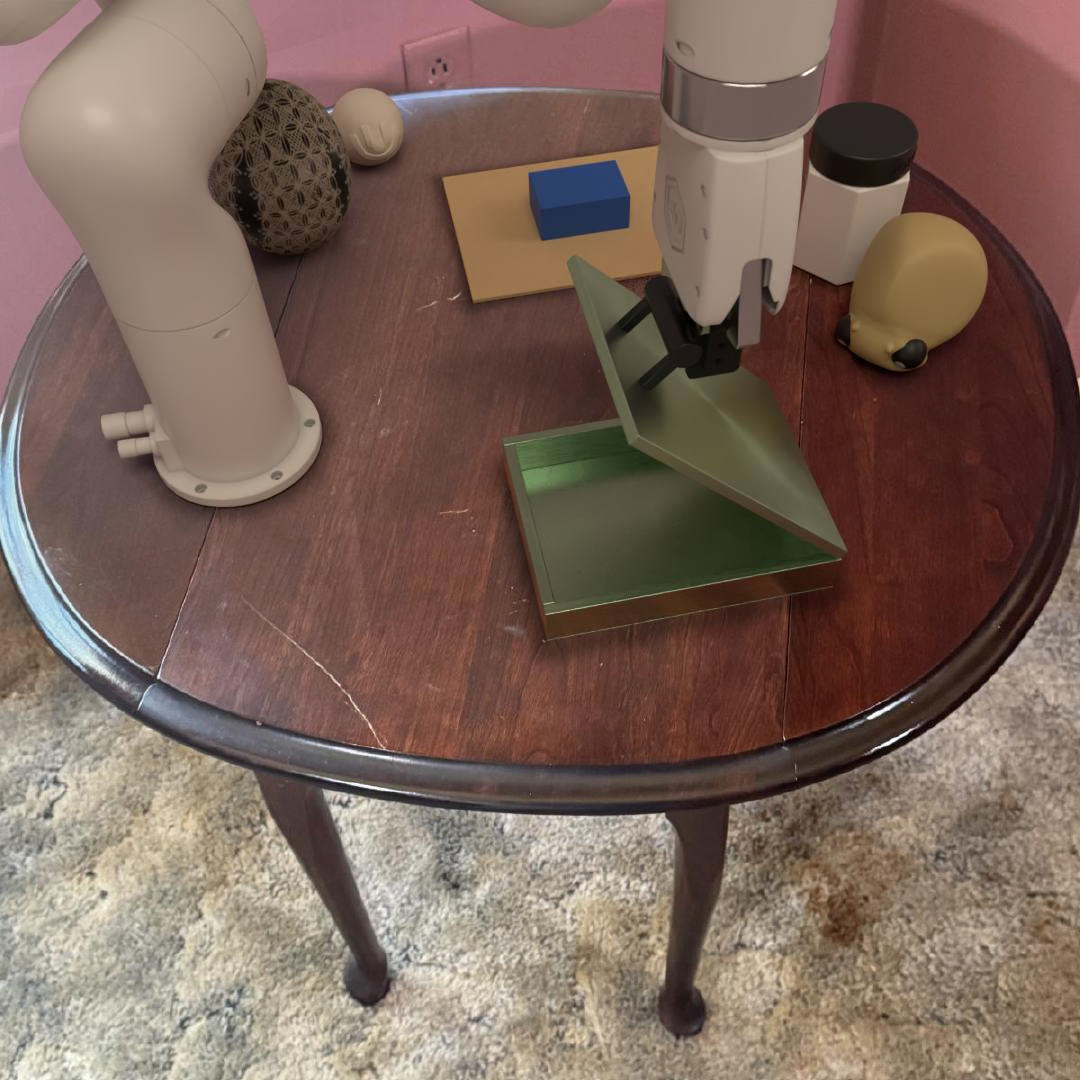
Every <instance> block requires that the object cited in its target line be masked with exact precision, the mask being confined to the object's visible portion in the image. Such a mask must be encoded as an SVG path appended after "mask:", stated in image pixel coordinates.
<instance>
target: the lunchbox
mask: <svg viewBox="0 0 1080 1080" xmlns="http://www.w3.org/2000/svg"><path fill="white" fill-rule="evenodd" d="M501 447H502V458H503V467H504V471H505V475H506V480H507V483H508V488H509V491H510V496H511V500H512V503H513V504H512V505H513V508H514V512H515V516H516V520H517V524H518V529H519V532H520V536H521V541H522V545H523V549H524V554H525V557H526V561H527V565H528V569H529V573H530V577H531V581H532V585H533V586H532V587H533V590H534V594H535V599H536V602H537V603H536V604H537V606H538V610H539V614H540V617H541V622H542V626H543V631H544V636H545V639H546V641H547V642H549V641H555V640H560V639H566V638H569V637H575V636H580V635H585V634H590V633H596V632H597V633H598V632H602V631H607V630H612V629H617V628H622V627H623V628H624V627H628V626H632V625H633V626H634V625H640V624H644V623H650V622H655V621H660V620H665V619H666V620H667V619H670V618H675V617H681V616H687V615H692V614H697V613H702V612H707V611H713V610H718V609H723V608H730V607H734V606H740V605H744V604H750V603H755V602H760V601H765V600H772V599H776V598H781V597H788V596H792V595H797V594H803V593H807V592H808V593H809V592H813V591H814V592H815V591H819V590H825V589H830V588H833V587H835V583H836V580H837V577H838V573H839V570H840V567H841V563H842V556H841V557H840V558H837V557H835V556H833V555H832V554H830V553H828V552H826V551H824V550H822V549H820V548H819V547H817V546H815V545H813V544H811V543H809V542H808V541H806V540H804V539H802V538H800V537H798V536H797V535H795V534H793V533H791V532H789V531H787V530H785V529H784V528H782V527H780V526H778V525H776V524H774V523H773V522H771V521H769V520H767V519H765V518H763V517H761V516H760V515H758V514H756V513H754V512H752V511H750V510H749V509H747V508H745V507H743V506H741V505H739V504H737V503H736V502H734V501H732V500H730V499H728V498H726V497H725V496H723V495H721V494H719V493H717V492H715V491H713V490H712V489H710V488H708V487H706V486H704V485H702V484H701V483H699V482H697V481H695V480H693V479H691V478H689V477H688V476H686V475H684V474H682V473H680V472H678V471H677V470H675V469H673V468H671V467H669V466H667V465H665V464H664V463H662V462H660V461H658V460H656V459H654V458H653V457H651V456H649V455H647V454H645V453H643V452H641V451H640V450H638V449H636V448H634V447H632V446H630V445H629V444H628V441H627V438H626V436H625V433H624V430H623V427H622V424H621V421H620V418H619V417H614V418H610V419H603V420H598V421H593V422H586V423H581V424H575V425H568V426H562V427H556V428H550V429H545V430H540V431H533V432H528V433H521V434H515V435H510V436H504V437H503V436H502V437H501Z"/></svg>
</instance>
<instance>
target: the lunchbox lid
mask: <svg viewBox="0 0 1080 1080" xmlns="http://www.w3.org/2000/svg"><path fill="white" fill-rule="evenodd" d="M566 263H567V266H568V269H569V272H570V274H571V277H572V280H573V283H574V286H575V288H574V289H575V291H576V295H577V297H578V301H579V303H580V307H581V310H582V313H583V315H584V319H585V321H586V324H587V327H588V330H589V333H590V335H591V338H592V342H593V344H594V347H595V350H596V353H597V356H598V359H599V362H600V365H601V369H602V371H603V374H604V377H605V380H606V383H607V385H608V389H609V392H610V395H611V397H612V401H613V403H614V407H615V409H616V412H617V415H618V418H620V421H621V424H622V427H623V430H624V433H625V436H626V438H627V441H628V444H629V445H630V446H632V447H634V448H636V449H638V450H640V451H641V452H643V453H645V454H647V455H649V456H651V457H653V458H654V459H656V460H658V461H660V462H662V463H664V464H665V465H667V466H669V467H671V468H673V469H675V470H677V471H678V472H680V473H682V474H684V475H686V476H688V477H689V478H691V479H693V480H695V481H697V482H699V483H701V484H702V485H704V486H706V487H708V488H710V489H712V490H713V491H715V492H717V493H719V494H721V495H723V496H725V497H726V498H728V499H730V500H732V501H734V502H736V503H737V504H739V505H741V506H743V507H745V508H747V509H749V510H750V511H752V512H754V513H756V514H758V515H760V516H761V517H763V518H765V519H767V520H769V521H771V522H773V523H774V524H776V525H778V526H780V527H782V528H784V529H785V530H787V531H789V532H791V533H793V534H795V535H797V536H798V537H800V538H802V539H804V540H806V541H808V542H809V543H811V544H813V545H815V546H817V547H819V548H820V549H822V550H824V551H826V552H828V553H830V554H832V555H833V556H835V557H837V558H840V557H841V558H842V557H843V556H844V555H846V554H847V553H848V552H849V551H848V549H847V547H846V545H845V542H844V540H843V538H842V536H841V533H840V532H839V529H838V528H837V526H836V523H835V521H834V519H833V517H832V515H831V513H830V510H829V508H828V506H827V504H826V502H825V500H824V498H823V496H822V493H821V491H820V489H819V487H818V485H817V483H816V481H815V478H814V476H813V474H812V472H811V470H810V468H809V465H808V464H807V461H806V460H805V457H804V455H803V453H802V451H801V449H800V447H799V444H798V442H797V439H796V438H795V435H794V434H793V432H792V429H791V427H790V425H789V423H788V421H787V418H786V416H785V415H784V412H783V410H782V408H781V405H780V404H779V402H778V399H777V398H776V395H775V393H774V390H773V389H772V387H771V385H770V384H769V383H767V382H766V381H765V380H764V379H762V378H760V377H759V376H757V375H756V374H754V373H753V372H751V371H750V370H748V369H747V368H745V367H743V366H742V365H741V364H740V366H739V369H738V370H737V371H735V372H732V373H726V374H720V375H714V376H708V377H703V378H697V379H689V378H688V377H687V374H686V372H685V368H687V367H690V366H692V365H694V364H696V363H697V362H698V361H699V360H700V358H701V356H702V348H701V346H700V344H699V341H698V339H697V337H696V334H695V332H694V330H693V327H692V325H691V323H690V320H689V318H688V316H687V313H686V311H685V309H684V306H683V304H682V302H681V299H680V297H679V295H678V292H677V290H676V288H675V285H674V283H673V281H672V279H671V278H669V277H667V276H663V275H661V274H660V275H655V276H653V277H652V278H650V279H649V280H648V281H647V282H646V283H645V284H644V286H643V295H644V296H643V298H641V297H640V296H639V295H637V294H635V293H634V292H633V291H631V290H630V289H628V288H626V287H625V286H623V284H620V282H618V281H614V280H613V279H612V278H610V277H609V276H607V275H606V274H604V273H603V272H601V271H600V270H598V269H597V268H595V267H594V266H592V265H591V264H589V263H588V262H586V261H585V260H583V259H582V258H580V257H579V256H577V255H576V254H574V255H573V256H572V257H571V258H570V259H569V260H568V261H567V262H566Z"/></svg>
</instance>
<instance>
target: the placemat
mask: <svg viewBox="0 0 1080 1080" xmlns="http://www.w3.org/2000/svg"><path fill="white" fill-rule="evenodd" d="M657 154H658V145H654V146H653V145H652V146H647V147H641V148H634V149H627V150H619V151H613V152H605V153H599V154H593V155H586V156H579V157H572V158H566V159H559V160H551V161H545V162H538V163H530V164H524V165H517V166H510V167H504V168H497V169H489V170H482V171H476V172H470V173H463V174H455V175H450V176H448V175H447V176H443V177H442V178H441V181H442V184H443V188H444V192H445V197H446V200H447V204H448V208H449V212H450V216H451V220H452V224H453V228H454V232H455V236H456V240H457V245H458V248H459V252H460V257H461V261H462V264H463V269H464V273H465V276H466V277H465V278H466V280H467V284H468V288H469V293H470V297H471V301H472V303H473V304H478V303H485V302H491V301H498V300H505V299H510V298H511V299H512V298H517V297H523V296H530V295H537V294H543V293H548V292H554V291H555V292H556V291H561V290H567V289H575V286H574V283H573V280H572V277H571V274H570V272H569V269H568V266H567V263H566V262H567V261H568V260H569V259H570V258H571V257H572V256H573V255H574V254H576V255H577V256H579V257H580V258H582V259H583V260H585V261H586V262H588V263H589V264H591V265H592V266H594V267H595V268H597V269H598V270H600V271H601V272H603V273H604V274H606V275H607V276H609V277H610V278H612V279H613V280H614V281H616V282H619V281H625V280H631V279H638V278H643V277H649V276H658V275H661V266H662V253H661V250H660V248H659V245H658V243H657V240H656V237H655V234H654V230H653V225H652V205H653V194H654V184H655V173H656V164H657ZM611 160H616V162H617V165H618V167H619V169H620V172H621V174H622V177H623V179H624V181H625V184H626V186H627V188H628V191H629V193H630V222H629V228H623V229H617V230H610V231H604V232H597V233H591V234H584V235H577V236H571V237H564V238H558V239H551V240H545V241H542V240H541V238H540V234H539V231H538V228H537V225H536V222H535V219H534V216H533V213H532V210H531V207H530V198H529V177H528V173H529V172H536V171H543V170H549V169H556V168H563V167H570V166H577V165H584V164H590V163H597V162H604V161H611Z"/></svg>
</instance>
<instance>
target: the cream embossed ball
mask: <svg viewBox="0 0 1080 1080" xmlns="http://www.w3.org/2000/svg"><path fill="white" fill-rule="evenodd" d="M330 116H331V118H332V119H333V121H334V122H335V124H336V126H337V128H338V130H339V132H340V134H341V136H342V138H343V141H344V144H345V146H346V149H347V153H348V156H349V161H350V162H352V163H354V164H356V165H360V166H367V167H368V166H371V167H372V166H378V165H381V164H384V163H385V162H388V161H389V160H391V159H392V158H393V157H394V156H395V155H396V154H397V153H398V151H399V150H400V149H401V147H402V143H403V139H404V134H405V128H404V127H405V126H404V121H403V117H402V113H401V110H400V109H399V107H398V105H397V104H396V102H395V100H394V99H393V98H392V97H390V96H389V95H387V94H386V93H385V92H384V91H382V90H379V89H376V88H370V87H358V88H354V89H351V90H349V91H347V92H346V93H344V94H343V95H342V96H341V97H340V98H339V99H338V100H337V101H336V103H335V104H334V106H333V108H332V111H331V113H330Z"/></svg>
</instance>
